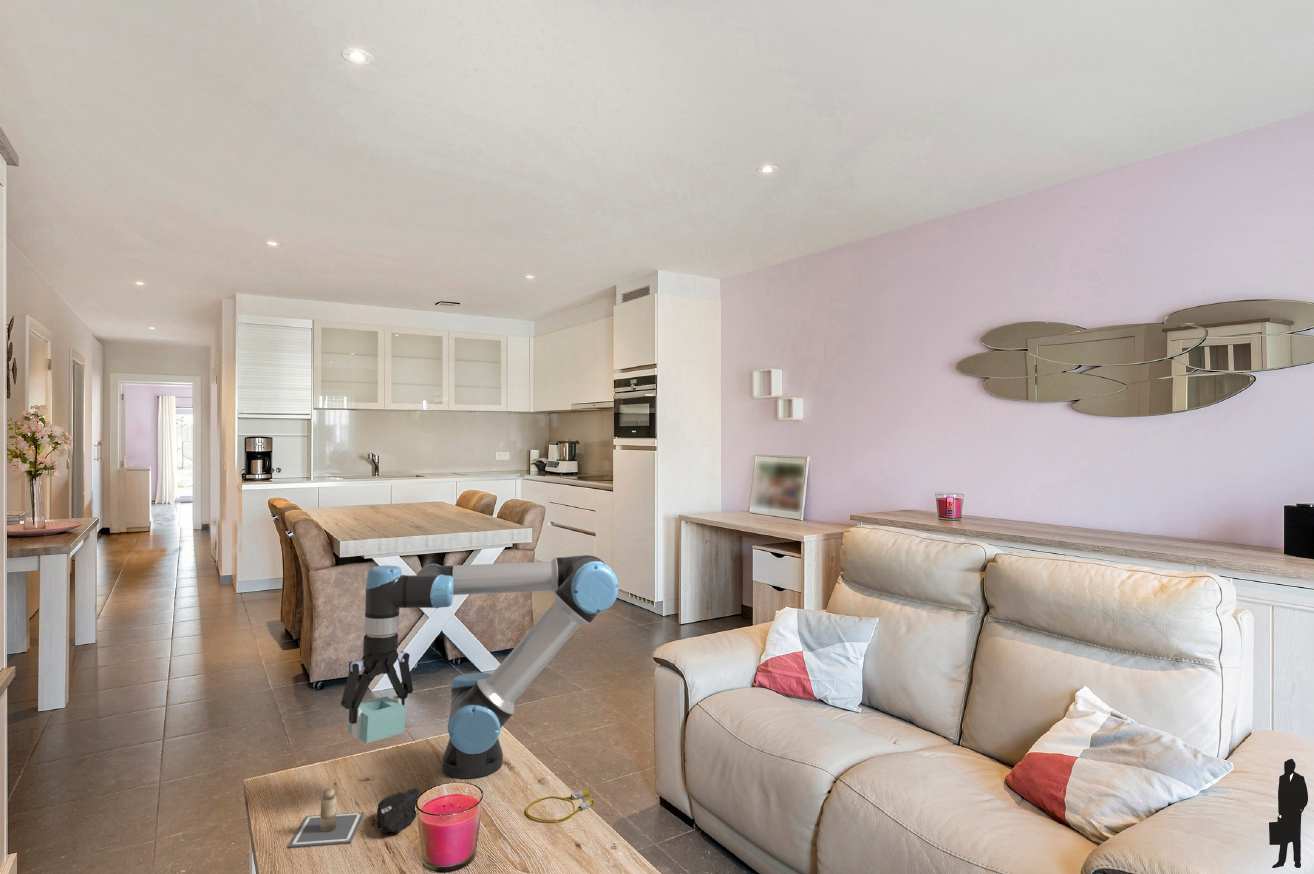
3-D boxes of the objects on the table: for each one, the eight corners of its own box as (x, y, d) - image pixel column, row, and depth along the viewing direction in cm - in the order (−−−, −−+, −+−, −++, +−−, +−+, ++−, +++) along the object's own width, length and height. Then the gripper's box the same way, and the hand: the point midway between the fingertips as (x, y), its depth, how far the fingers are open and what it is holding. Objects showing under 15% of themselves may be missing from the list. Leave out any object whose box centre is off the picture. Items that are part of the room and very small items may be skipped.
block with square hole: (385, 721, 170) (386, 696, 171) (404, 732, 164) (405, 706, 165) (348, 731, 164) (349, 705, 164) (366, 743, 158) (368, 716, 158)
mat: (364, 813, 158) (364, 811, 158) (350, 843, 146) (350, 841, 146) (306, 817, 156) (306, 815, 156) (288, 847, 144) (288, 845, 144)
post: (337, 824, 152) (338, 786, 153) (333, 831, 149) (334, 793, 150) (322, 825, 152) (323, 787, 152) (318, 832, 149) (319, 794, 149)
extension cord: (596, 822, 157) (596, 813, 157) (524, 827, 154) (524, 818, 154) (593, 795, 169) (593, 787, 169) (526, 799, 166) (526, 791, 166)
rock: (426, 828, 152) (427, 801, 152) (382, 840, 147) (383, 811, 147) (415, 808, 161) (415, 782, 161) (373, 819, 156) (374, 792, 156)
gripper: (415, 623, 175) (411, 714, 175) (327, 638, 159) (321, 738, 158) (431, 629, 170) (427, 723, 170) (342, 645, 154) (336, 749, 153)
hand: (376, 730), depth 164 cm, fingers closed on block with square hole, 9 cm apart
